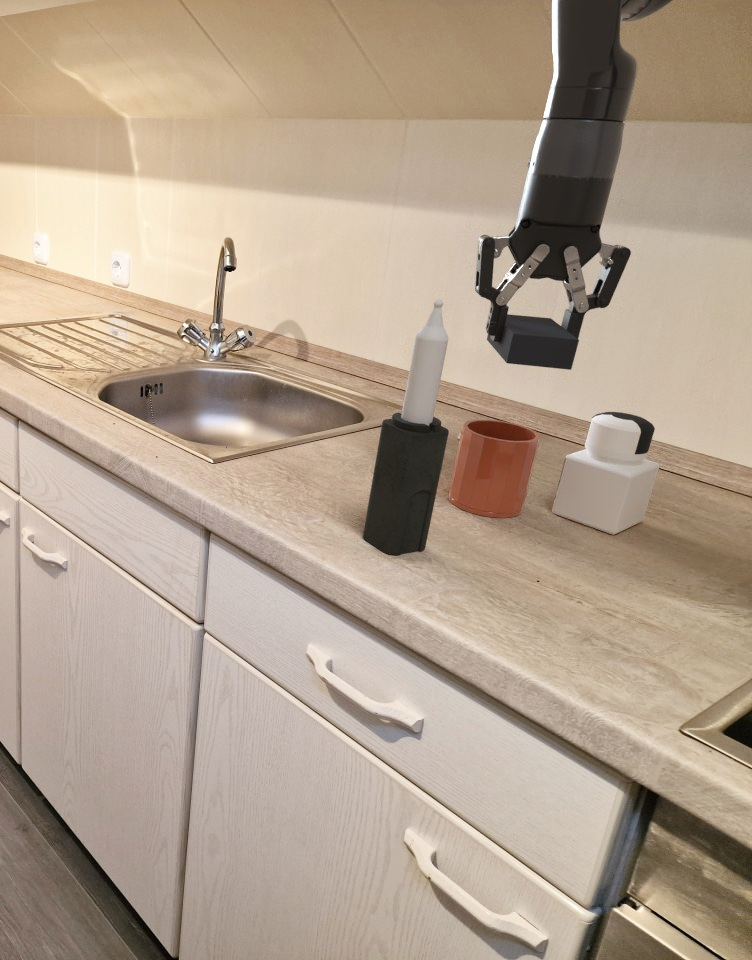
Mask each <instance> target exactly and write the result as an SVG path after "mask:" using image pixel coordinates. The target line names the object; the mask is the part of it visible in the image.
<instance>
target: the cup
mask: <svg viewBox="0 0 752 960" xmlns="http://www.w3.org/2000/svg"><path fill="white" fill-rule="evenodd" d="M541 438H542V436H541V435H540V433H539V432H537V431H535V430H534V429H532V428H530V427H527V426H524V425H521V424H518V423H513V422H510V421H504V420H496V419H471V420H467V421H465V422H464V423H463V424H462V426H461V431H460V436H459V442H458V445H457V449H456V450H457V451H456V456H455V460H454V465H453V470H452V475H451V479H450V484H449V489H448V501H449V502H450V503H451V504H452V505H453V506H455V507H457V508H458V509H460V510H463V511H465V512H468V513H470V514H473V515H476V516H477V515H478V516H482V517H488V518H496V519H497V518H498V519H506V518H508V519H509V518H515V517H519V515H520V514H522V513H523V510H524V506H525V504H526V499H527V495H528V490H529V487H530V483H531V479H532V476H533V471H534V467H535V462H536V459H537V455H538V451H539V446H540V442H541Z"/></svg>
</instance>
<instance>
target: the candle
mask: <svg viewBox="0 0 752 960" xmlns="http://www.w3.org/2000/svg"><path fill="white" fill-rule="evenodd" d="M443 306H444V302H443V300H442V299H440V298H439V299H438V298H437V299H436V300H434V301H433V308H432V311H431V313H430V314H429V316H428V318H427V320H426V322H425V323H424V325H423V326H422V327H421V328H420V329H419V330H418V332H416V334H415V336H414V344H413V349H412V355H411V359H410V365H409V370H408V376H407V381H406V388H405V393H404V399H403V404H402V410H401V412H396V413H393V414H392V415H391V418H386V419H383V420H382V423H381V429H380V432H379V438H378V445H377V446H378V447H377V450H376V456H375V457H376V458H375V462H374V468H373V475H372V480H371V485H370V490H369V491H370V492H369V497H368V503H367V509H366V515H365V521H364V526H363V532H362V539H363V540H364V541H366V542H367V543H368V544H370V545H372V546H373V547H375V548H376V549H378V550H379V551H380V552H382V553H384V554H386V555H390V556H401V555H402V554H407V553H415V552H423V551H425V550H426V547H427V542H428V541H427V540H428V536H429V532H430V527H431V521H432V517H433V512H434V507H435V501H436V498H437V492H438V487H439V482H440V479H441V478H440V477H441V472H442V467H443V462H444V458H445V453H446V447H447V444H448V438H449V434H450V430H449V429H447V427H444V426H442V420H440V419H439V418H438V417H435V416H434V415H435V411H436V406H437V400H438V395H439V391H440V386H441V381H442V380H441V379H442V375H443V369H444V364H445V361H446V360H445V359H446V354H447V350H448V349H447V348H448V343H449V336H448V333H447V330H446V328H445V327H444V320H443V310H442V307H443Z"/></svg>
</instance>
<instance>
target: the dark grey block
mask: <svg viewBox="0 0 752 960" xmlns="http://www.w3.org/2000/svg"><path fill="white" fill-rule="evenodd" d="M486 341H488V343H489V344H490V345H491V347H492V348H493V349H494V350H495V351H496V352H497V354H498V355H499V356H500V357H501V358H502V359H503V361H504V362H505V363H506V364H511V365H520V366H529V367H531V366H532V367H540V368H550V369H559V370H569V371H571V370H572V368H573V365H574V361H575V357H576V353H577V350H578V346H579V342H580V339H579V338H578V339H577V338H576V337H575V336H573V335H572V334H571V333H569V332H568V331H567V330H565V329H564V328H563V327H561V324H559V323H557V322H556V321H555V320H554V319H553V318H551V317H542V316H529V315H520V314H519V315H518V314H509V313H507V318H506V322H505V325H504V329H503V333H502V337H501V341H500V342H493V341H492V340H491V339H490V335H488V334H487V337H486Z"/></svg>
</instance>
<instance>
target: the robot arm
mask: <svg viewBox="0 0 752 960" xmlns="http://www.w3.org/2000/svg"><path fill="white" fill-rule="evenodd" d="M673 1H674V0H551V56H552V77H551V81H550V84H549V88H548V92H547V96H546V101H545V105H544V110H543V115H542V119H541V123H540V126H539V129H538V132H537V135H536V137H535V140H534V142H533V147H532V151H531V154H530V157H529V158H528V161H527V162H528V163H527V172H526V176H525V181H524V186H523V190H522V193H521V194H522V195H521V200H520V204H519V208H518V213H517V217H516V220H515V221H516V222H515V224H514V226H513V229H511V231H510V232H509V234H508V235H497V236H496V235H495V236H490V235H488V234H483V235H481V236H479V238H478V240H477V248H476V249H477V250H476V251H477V252H476V268H475V281H474V292H475V293H477V294H478V295H479V297H481V298H483V299H486V300H488V301H489V302H490V307H489V311H488V316H487V321H486V325H485V330H486V334H487V336H488V335H490V339H491V340H492V341H493V342H500V341H501V337H502V333H503V329H504V325H505V322H506V318H507V314H509V309H510V308H509V306H508V305H507V304H508V303H509V302H510V301H511V299H512V297H513V296H514V295H515V294H516V292H518V290H519V289H520V288H522V287H523V286H524V285H525V283H526V282H527V281H528V279H532V280H533V279H534V280H542V279H550V280H553V281H556V282H557V281H558V282H562V286H563V287H564V289H565V293H566V296H567V297H566V298H567V301H568V308H565V309H564V312H563V317H562V321H561V324H560V326H561V327H563V328H564V329H565V330H567V331H568V332H569V333H571V334H572V335H573V336H575V337H576V338H577V339H579V338H580V333H581V329H582V326H583V322H584V320H585V319H584V318H585V316H586V314H587V312H589V311H590V310H595V309H605V308H607V307H608V306H609V305H610V303H611V301H612V299H613V296H614V294H615V292H616V289H617V287H618V285H619V282H620V280H621V278H622V276H623V273H624V271H625V269H626V266H627V264H628V262H629V259H630V257H631V255H632V251H631V249H630V248H628V247H626V245H622V244H614V245H613V244H610V243H609V244H608V243H604V242H603V241H602V239H601V234H600V233H601V227H602V224H603V220H604V217H605V212H606V209H607V205H608V202H609V197H610V194H611V190H612V186H613V183H614V178H615V174H616V171H617V166H618V164H619V158H620V156H621V155H620V154H621V151H622V146H623V145H622V144H623V136H624V129H625V125H626V124H625V122H626V120H627V116H628V112H629V109H630V105H631V102H632V97H633V93H634V89H635V87H636V81H637V75H638V70H639V69H638V68H639V65H638V60H637V58H636V57H635V55H633V54H632V53H630V52H629V51H628V50H626V49H625V48H624V47H623V45H622V42H621V24H629V23H635V22H639V21H642V20H644V19H646V18H649V17H650V16H652V15H654V14H656V13H658V12H659V11H661V10H663V9H664V8H666V7H667V6H668V5H669V4H671V3H672V2H673ZM507 247H508V249H509V252H510V254H511V256H512V259H514V262H513V264H512V265H511V267H510V268H509V269H508V270H507V272H506V273H505V275H504V276H503V279H502V280H501V282H500V283H499V284H498V286H497V287H494V286H493V279H494V265H495V259H498V258H500V256H502V253H503V250H504V249H505V248H507ZM596 255H599V259H598V260H599V264H600V266H602V267H601V270H600V272H599V273H598V277H597V278H596V281H595V284H594V286H593V288H592V291H591V293H590V294H587V291H586V282H585V278H584V274H583V269H582V268H583V267H584V266H586V265H587V264H588V263H589V262H590V261H591V260H592V259H593V258H594V257H595V256H596Z"/></svg>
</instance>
